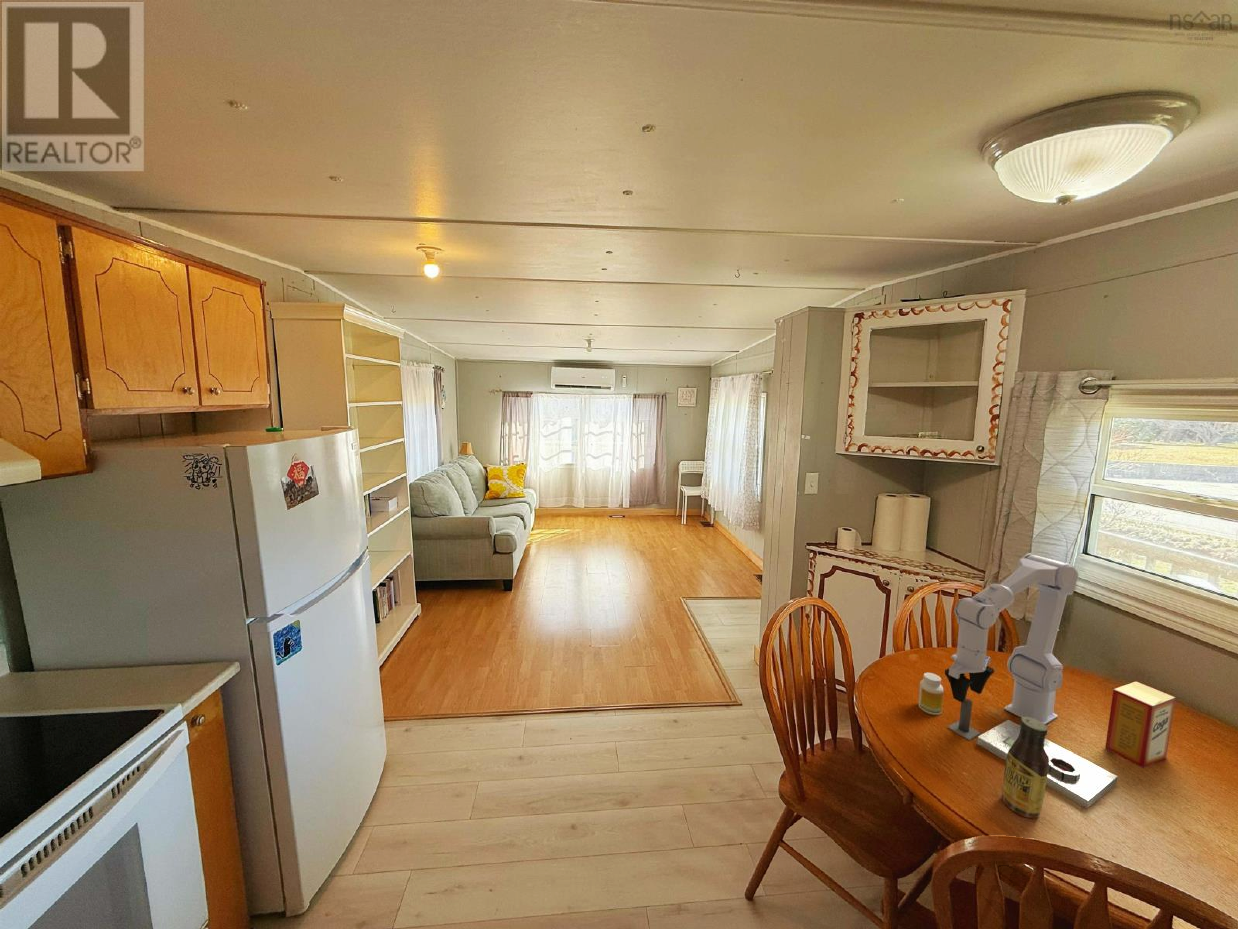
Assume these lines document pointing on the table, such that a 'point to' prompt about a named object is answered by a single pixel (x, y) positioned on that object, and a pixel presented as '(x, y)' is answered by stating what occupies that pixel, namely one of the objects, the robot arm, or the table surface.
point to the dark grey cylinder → (965, 715)
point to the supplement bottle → (931, 694)
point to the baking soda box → (1140, 723)
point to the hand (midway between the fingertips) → (967, 695)
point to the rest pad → (967, 735)
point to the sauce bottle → (1026, 770)
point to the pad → (1009, 742)
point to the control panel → (1075, 783)
